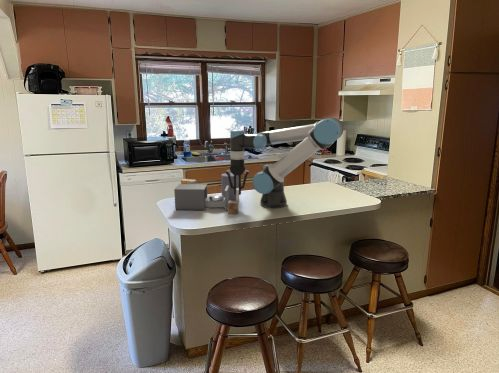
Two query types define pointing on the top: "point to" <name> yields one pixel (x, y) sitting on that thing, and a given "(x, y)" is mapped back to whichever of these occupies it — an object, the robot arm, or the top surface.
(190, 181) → the supplement box
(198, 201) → the grey box
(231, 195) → the container
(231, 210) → the walnut block
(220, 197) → the disc
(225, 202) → the tray
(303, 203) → the top surface
